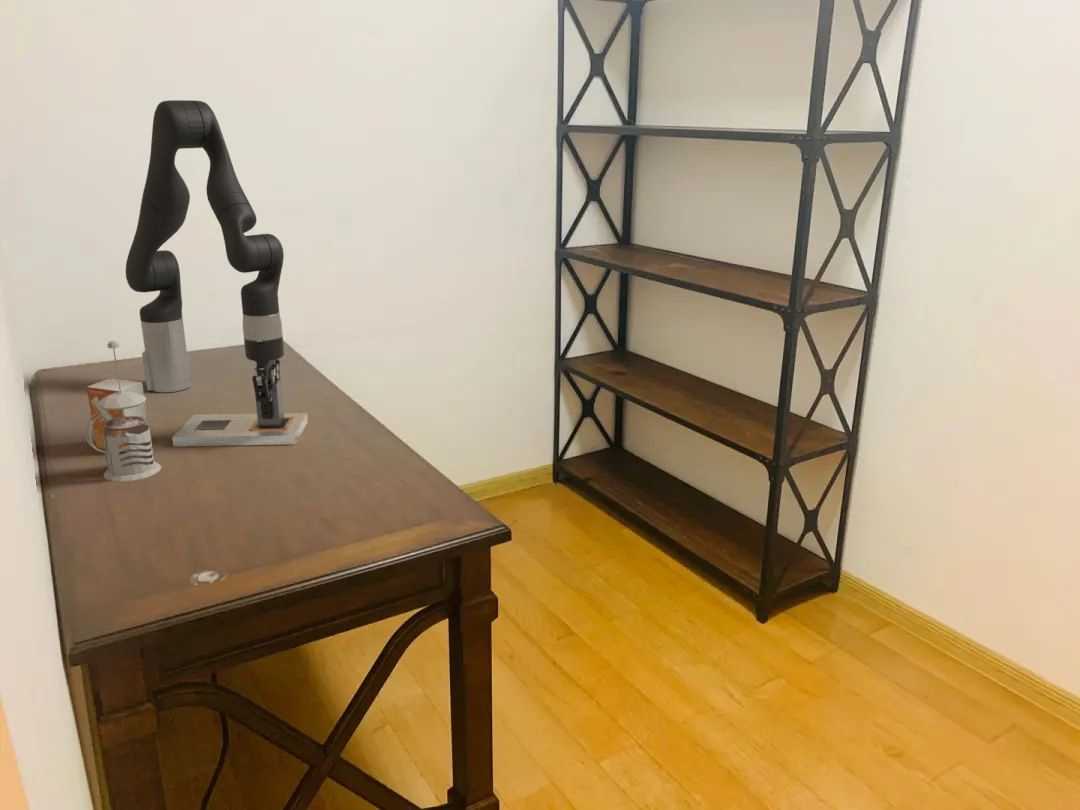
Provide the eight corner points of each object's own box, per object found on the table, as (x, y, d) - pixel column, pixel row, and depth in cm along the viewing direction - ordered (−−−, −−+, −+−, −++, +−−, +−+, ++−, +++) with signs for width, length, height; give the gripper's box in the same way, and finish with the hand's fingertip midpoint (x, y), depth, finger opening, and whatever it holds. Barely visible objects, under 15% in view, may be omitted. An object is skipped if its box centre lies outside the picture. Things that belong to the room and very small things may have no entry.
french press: (170, 470, 156) (152, 340, 148) (105, 489, 148) (83, 352, 140) (148, 457, 163) (129, 331, 155) (84, 473, 155) (61, 342, 147)
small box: (95, 448, 166) (85, 386, 162) (119, 438, 172) (110, 377, 168) (128, 453, 164) (119, 390, 160) (152, 442, 170) (143, 381, 166)
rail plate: (173, 446, 168) (172, 436, 167) (195, 423, 181) (193, 413, 181) (295, 444, 170) (294, 434, 169) (307, 421, 183) (306, 412, 182)
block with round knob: (258, 430, 173) (253, 380, 170) (263, 423, 178) (259, 374, 174) (280, 430, 174) (275, 380, 170) (284, 423, 178) (280, 374, 175)
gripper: (252, 326, 176) (260, 403, 181) (234, 343, 162) (243, 426, 168) (289, 326, 176) (295, 403, 182) (274, 343, 163) (281, 425, 168)
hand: (270, 413), depth 175 cm, fingers closed on block with round knob, 4 cm apart
